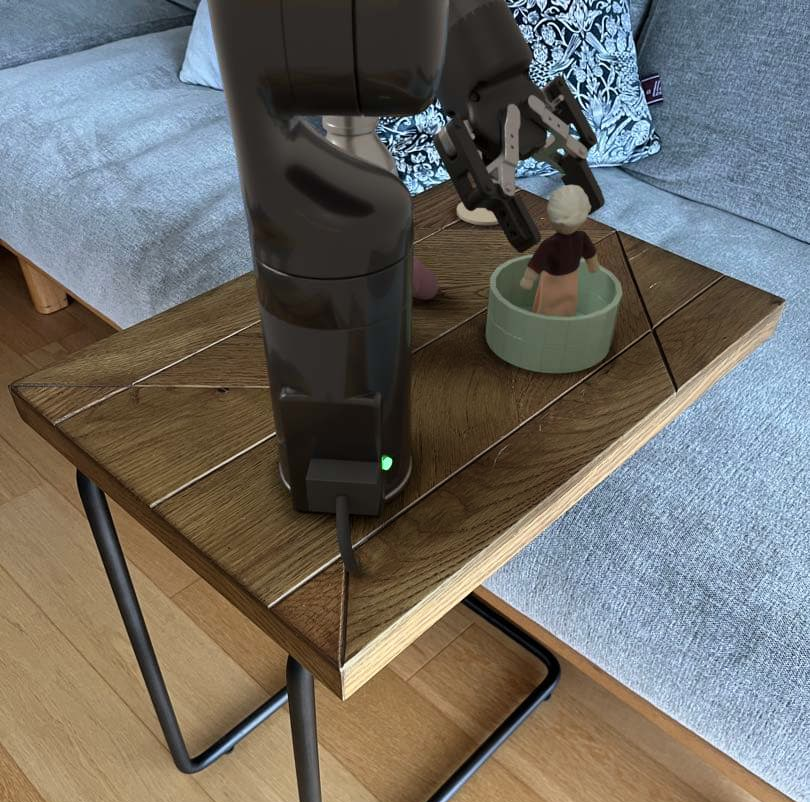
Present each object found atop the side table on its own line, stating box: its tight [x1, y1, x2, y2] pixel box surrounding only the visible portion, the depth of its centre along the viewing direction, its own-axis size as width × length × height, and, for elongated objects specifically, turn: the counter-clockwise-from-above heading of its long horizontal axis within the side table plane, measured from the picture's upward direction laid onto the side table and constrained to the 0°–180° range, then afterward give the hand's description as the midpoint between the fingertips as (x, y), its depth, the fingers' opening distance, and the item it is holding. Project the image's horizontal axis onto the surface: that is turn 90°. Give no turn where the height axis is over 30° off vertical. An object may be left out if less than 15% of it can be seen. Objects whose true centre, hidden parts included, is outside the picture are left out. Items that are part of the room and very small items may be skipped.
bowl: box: [485, 254, 624, 374], centre depth 69 cm, size 11×11×5 cm
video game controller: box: [413, 256, 439, 301], centre depth 73 cm, size 10×5×7 cm, turn 62°
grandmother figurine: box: [520, 184, 601, 317], centre depth 66 cm, size 8×4×13 cm, turn 131°
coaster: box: [456, 201, 499, 226], centre depth 87 cm, size 6×6×1 cm
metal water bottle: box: [321, 115, 400, 178], centre depth 62 cm, size 6×7×20 cm
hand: (564, 228), depth 64 cm, fingers open, 8 cm apart
